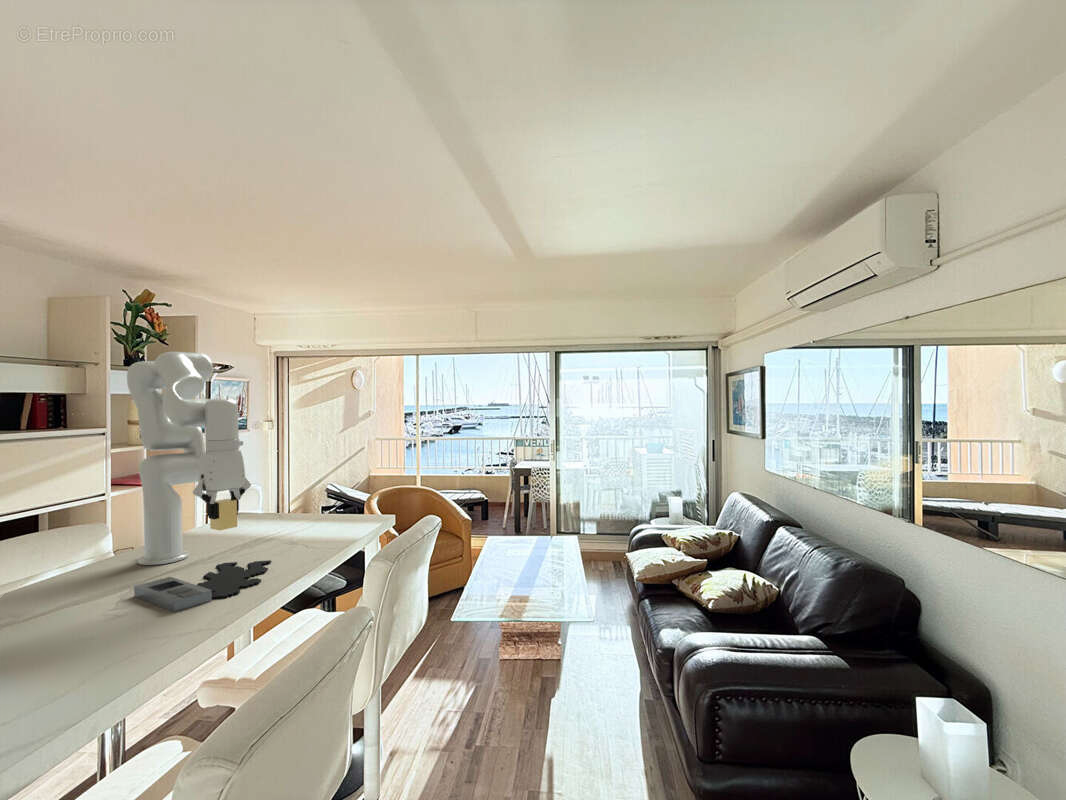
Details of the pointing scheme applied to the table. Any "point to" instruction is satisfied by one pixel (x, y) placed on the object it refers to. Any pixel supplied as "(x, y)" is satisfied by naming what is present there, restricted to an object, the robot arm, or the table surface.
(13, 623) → the table surface
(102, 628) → the table surface
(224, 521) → the block
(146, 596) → the rail
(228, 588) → the black pixelated cutout
